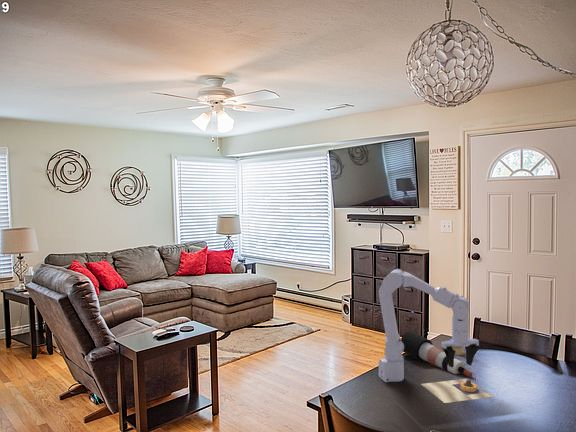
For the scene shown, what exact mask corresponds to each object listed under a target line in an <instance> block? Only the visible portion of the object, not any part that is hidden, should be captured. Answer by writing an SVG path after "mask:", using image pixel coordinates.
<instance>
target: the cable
mask: <svg viewBox="0 0 576 432" xmlns="http://www.w3.org/2000/svg"><path fill="white" fill-rule="evenodd" d="M400 339H401V341H402V342H403V344H404V350H403V352H402V353H405V354H407V355H408V356H410V357H411V358H414V359H415V360H417V361H419V362H425V361H426V362H428V363H429V364H432V365H434V366H436V367H437V368H440V369H442V370H445V371H447V372H450V373H451V374H454V375H457V374H462V375H465V376H466V377H469V378H472V377H473V372H472V371H470V370H468V369H467V368H465V362H463V361H461V360H459V359H457V358H456V357H454V366H453V367H450V366H449V365H448V360H447V357H446V354H445V352H444V350H443V349H440V348H438V347H436V346H435V345H433V342H432V341H431V340H430V339H429V338H426V337H424V336H423V335H420V334H417V333H416V332H414V331H410V330H409V331H407V332H405V333H404V334H403V335H402V337H401V338H400Z"/></svg>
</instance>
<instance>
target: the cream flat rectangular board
mask: <svg viewBox="0 0 576 432" xmlns="http://www.w3.org/2000/svg"><path fill="white" fill-rule="evenodd" d="M461 382H466V386H467V387H471V383H474V384H475V385H477V389H479V390H481V391H483V392H481V393H480V392H479V393H470V394H465V393H464V392H463V391H462V390H460V389H458V388H457V387H456V386H455V385H460V384H461ZM420 385H421V386H423V388H425V389H426V390H427V391H429V392H430V393H431V394H433V395H434V396H435V397H436V398H437V399H438V400H440V401H441V402H442V403H443V404H449V403H457V402H463V401H465V402H466V401H471V400H479V399H486V398H495V396H494V395H493V394H492V393H490V392H488V391H487V390H486V389H484V388H482V387H480V385H478V384H476V383H475V382H473V381H472V380H470V379H469V378H460V379H451V380H444V381H436V382H435V381H434V382H427V383H421V384H420Z"/></svg>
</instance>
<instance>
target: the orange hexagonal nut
mask: <svg viewBox="0 0 576 432" xmlns="http://www.w3.org/2000/svg"><path fill="white" fill-rule="evenodd" d="M474 383H475V382H473V383H471V387H467V386H466V382H461V384H459V385H460V386H459V388H460V389H461V391H462V392H463V391H464V392H466V393H467V392H468V393H475V392H477V390H478V387H477V385H478V384H476V383H475V384H476V385H475V384H474Z"/></svg>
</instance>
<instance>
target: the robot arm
mask: <svg viewBox="0 0 576 432" xmlns="http://www.w3.org/2000/svg"><path fill="white" fill-rule="evenodd" d="M402 286H403V288H408V287H412V288H415V289H416V290H419V291H421V292H423V293H426V294H428V295H430V296H431V298H432V300H433V301H435V302H436V303H438V304H440V305H443V306H444V307H446V308H448V309H452V317H451V318H452V319H451V321H452V322H451V323H452V324H451V330H452V332H451V339H448V340H444V341H441V348H442V349H441V350H442V351H444V352H445V354H446V357H447V360H448V365H449V366H450V367H453V366H454V358H455V356H456V355H455V352H456V351H455V350H453V348H452V347H460V346H462V347H464V348H465V349H464V350H465V362H466V363H465V364H466V365H469V366H472V364H473V361H474V358H475V355H476V354H477V352H478V351H479V347H478V346H480V340H478V339H477V338H469V330H470V329H469V328H470V327H469V325H470V324H469V320H470V319H469V318H470V317H469V311H470V302H469V300H468V299H467V298H466V297H465V296H463V295H460V294H458V293H453V292H452V291H450V290H448V288H447V287H446V286H443V287H441V286H438V287H437V286H436V287H435V286H433V285H431V284H430V283H427V282H426V281H424V280H423V279H420V278H419V277H417V276H415V275H413V274H412V273H409V272H408V271H404V270H402V269H400V268H395V269H393V270H391V272H390V273H388V274H387V275H386V276H385V277H384V278H383V280H382V283H381V285H380V287H379V289H378V297H379V303H380V308H381V309H380V310H381V315H382V321H383V327H384V334H385V339H384V340H385V341H384V342H385V343H384V345H385V348H384V352H383V353H384V358H381V359H379V360H378V377H379V378H380V379H381V380H382V381H383V382H384V383H389V382H402V381H404V379H405V377H404V376H405V374H404V373H405V372H404V371H405V370H404V369H405V366H404V365H405V363H404V361H405V360H404V356H403V354H402V353H404V352H403V350H404V344H403V342H402V341H401V339H402V338H401V335H400V334H399V331H398V324H397V318H396V312H395V306H394V299H393V293H394V291H396V290H397V289H398V288H400V287H402Z"/></svg>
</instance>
